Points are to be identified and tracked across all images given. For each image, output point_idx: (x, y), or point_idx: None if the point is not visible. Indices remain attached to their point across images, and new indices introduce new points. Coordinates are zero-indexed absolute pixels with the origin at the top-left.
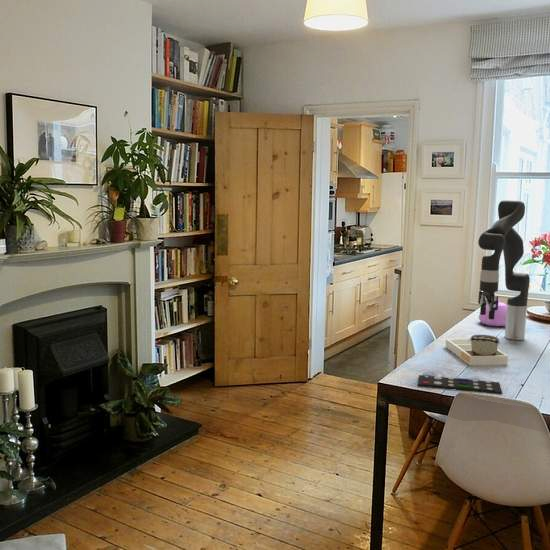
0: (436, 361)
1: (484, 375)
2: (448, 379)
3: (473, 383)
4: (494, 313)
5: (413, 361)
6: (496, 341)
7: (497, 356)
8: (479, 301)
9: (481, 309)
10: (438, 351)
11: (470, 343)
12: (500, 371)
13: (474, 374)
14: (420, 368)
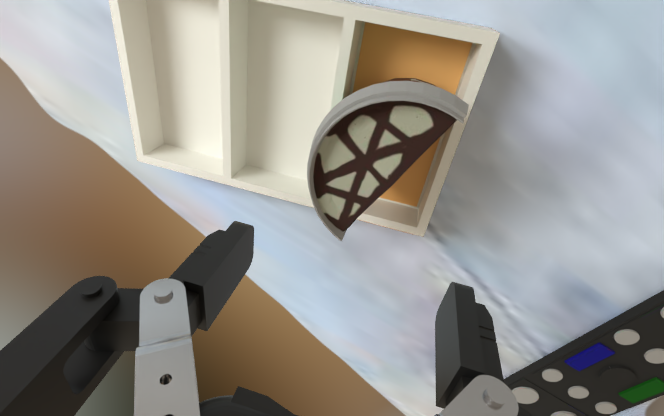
0: (339, 282)
1: (565, 244)
2: (552, 382)
3: (648, 359)
4: (479, 338)
5: (324, 333)
6: (449, 126)
7: (472, 105)
8: (113, 364)
9: (224, 300)
10: (222, 207)
11: (141, 30)
12: (562, 144)
13: (531, 267)
14: (394, 356)
